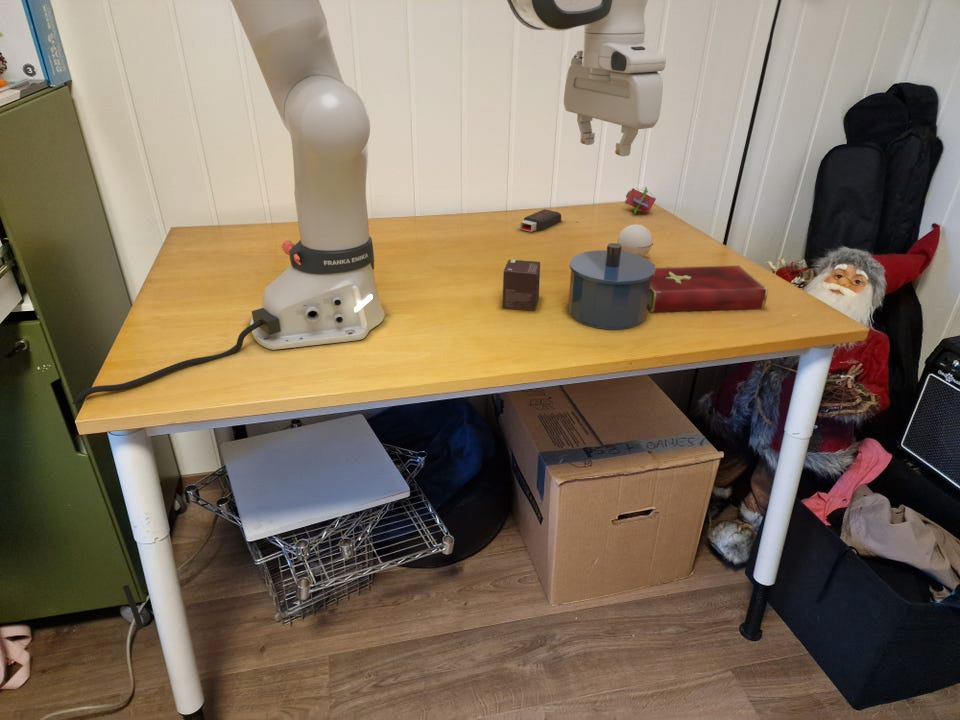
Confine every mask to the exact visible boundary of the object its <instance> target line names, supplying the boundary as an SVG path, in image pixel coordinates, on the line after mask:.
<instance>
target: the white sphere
mask: <svg viewBox="0 0 960 720" xmlns="http://www.w3.org/2000/svg"><path fill="white" fill-rule="evenodd" d="M654 237H656V235H654V236H652V233H651V232H650V230H649V229H648V228H647V227H646V226H645V225H642V224H639V223H638V224H637V223H635V224H634V223H633V224H630V225H627V226H626V227H625V228H623V229H622V230H620V232H619V234H618V238H617V242H616V243H617V244H620V245H622V248H621V252H627V253H631V254H635V255H638V256H641V257H644V256H646V255H648V254H649V252H650V251H651V248H652V246H654V243H653V238H654Z"/></svg>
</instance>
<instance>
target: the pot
mask: <svg viewBox="0 0 960 720" xmlns="http://www.w3.org/2000/svg"><path fill="white" fill-rule="evenodd" d="M651 279H652V278H651ZM651 279H649V280H647V281H644V282H640V283H635V284H605V283H599V282H595V281H591V280H588V279H585V278H582V277H580V276H578V275H576V274H575V273H574V272H573V271H572V270H571V269H570V279H569V291H568V301H567V302H568V304H567V309H568V314H569V316H570V317H571V318H572V319H574V320H575V321H576V322H578V323H579V324H582V325H585V326H587V327H591V328H595V329H600V330H608V331H614V330H615V331H620V330H627V329H632V328H636V327H638V326H640V325H642V323H644V321H645V320H646V316H647V312H648V308H647V306H648V299H649V292H650V286H651Z"/></svg>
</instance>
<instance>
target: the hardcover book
mask: <svg viewBox="0 0 960 720" xmlns="http://www.w3.org/2000/svg"><path fill="white" fill-rule="evenodd" d="M655 268H656V271H655V275H654V276H653V277H652V279H651V286H650V292H649V299H648V306H647V311H649V312H650V313H678V312H681V313H682V312H710V311H742V310H744V311H745V310H763V309H764V308H765V306H766V302H767V299H768V293H769V288H768V287H766V286H765V285H764V284H762V283H761V282H760V281H759V280H757V278H755V277H754V276H753V275H752V274H751V273H749V272H748V271H747V270H746V269H744V268H743V267H742V266H741V265H705V266H704V265H702V266H701V265H700V266H665V267H663V266H661V267H655Z"/></svg>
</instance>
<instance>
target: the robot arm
mask: <svg viewBox="0 0 960 720" xmlns="http://www.w3.org/2000/svg"><path fill="white" fill-rule="evenodd" d="M506 1H507V4H508V6H509V9H510V10H511V12H512V15H514V17H515V18H516V20H518V22H519V23H520V24H521V25H523V26H525V28H526V27H527V28H529V29H531V30H535V31H546V30H548V31H556V32H564V31H568V30H571V29H575V28H577V27H582V26H583V28H584V30H583V44H582V45H583V46H582V49H581V50H577V51H576V53H575V54H574V55H573V57H572V58H571V61H570V66H569V67H568V70H567V73H566V79H565V84H564V85H565V86H564V91H563V92H564V93H563V106H564V109H565V111H566V112H569V113H573V114H576V115H577V117H576V123H577V125H578V129H579V133H580V141H579V142H580V144H582V145H586V146H589V145H594V143H595V137H596V134H595V132H593V129H592V123H591V121H593V119H596V120H599V121H604V122H607V123H610V124H615V125H619V126H621V128H620V133H621V134H622V137H621V139H620V141H619V142H616V143H615V151H614V153H615V155H617V156H620V157H628V156H630V154H631V149H632V144H633V142H634V140H635V139H636V137H637V135H638V133H639V130H645V129H652V128H655V126H656V124H657V123H658V121H659V119H660V116H661V115H660V113H661V110H662V109H661V108H662V103H663V102H662V101H663V91H664V90H663V89H664V82H663V77H662V75H661V74H660V72H663V71H664V70H665V68H666V63H667V58H666V55H665V54H664V53H663V52H661V51H659V50H658V49H656V48H655V47H654V46H653V45H651V44H650V43H649V42H648V41H646V40H645V37H646V36H645V35H646V25H645V12H646V7H647V5H648V1H649V0H506ZM230 2H231V4H232V6H233V9H234V10H235V13H236V15H237V17H238V20H239V22H240V24H241V26H242V29H243V31H244V33H245V35H246V38H247V41H248V42H249V45H250V47H251V49H252V52H253V54H254V57H255V59H256V62H257V65H258V67H259V69H260V72H261V73H262V77H263V79H264V82H265V83H266V86H267V89H268V91H269V94H270V96H271V98H272V101H273V104H274V105H275V107H276V110H277V113H278V115H279V117H280V120H281V121H282V124H283V126H284V127H285V129H286V131H287V132H288V133H289V136H290V139H291V147H292V148H291V149H292V159H293V160H292V161H293V177H294V195H293V196H294V202H295V209H296V216H297V224H298V232H299V233H298V234H299V240H298V241H297V242H296V243H295V244H294V242H292V241H291V240H289V239H288V240H284V241H282V244H281V249H282V251H283V252H284V254H285V255H287V256H289V261H290V265H289V266H288V267H287V268H286V269H285V270H284V271H282V273H280V274H279V275H278V276H277V277H276V278H274V279H273V280H272V281H271V282H270V283H269V284H268V285H267V286H266V287H265V289H264V290H263V293H262V299H261V300H262V301H261V307H260V308H258V309H255V310H252V311H251V318H250V323H249V324H250V325H248V326H247V327H246V328H244V329H243V330H242V331H241V332H240V333H239V335H238V337H237V340H236V343H235V345H234V346H233V347H231V348H229V349H228V350H226V351H223V352H221V353H218V354H214V355H207V356H201V357H194V358H189V359H185V360H183V361H180V362H177V363H174V364H172V365H168V366H166V367H164V368H161V369H158V370H157V371H153V372H151V373H149V374H146V375H144V376H141V377H139V378H135V379H132V380H130V381H126V382H123V383H117V384H106V385H104V384H103V385H96V386H91V387H88V388H86V389H84V390H82V391H81V392H80V393H78V395H77V396H75V398H74V399H73V400H72V405H78V404H81V403H82V402H83V401H84V400H85V399H86V398H87V397H89V396H90V395H93V394H96V393H105V392H106V393H107V392H117V391H124V390H127V389H128V390H129V389H131V388H134V387H137V386H139V385H142V384H145V383H147V382H150V381H152V380H155V379H158V378H160V377H162V376H165V375H167V374H169V373H173V372H175V371H177V370H180V369H183V368H186V367H189V366H194V365H198V364H203V363H204V364H205V363H209V362H213V361H216V360H219V359H223V358H226V357H230V356H232V355H234V354H236V353H237V352H238V351H240V350H241V349H242V347H243V344H244V341H245V338H246V337H247V336H248V335H249V334H250V333H251V336H252V337H253V339H254V340H255V341H256V342H257V344H259V345H260V346H261V347H263V348H266V349H268V350H271V351H272V350H284V349H294V348H302V347H311V346H319V345H320V346H321V345H329V344H335V343H336V344H337V343H345V342H355V341H360V340H361V341H362V340H363V339H365V338H366V337H367V336H368V334H369V333H370V331H371V330H372V329H374V328H376V327H377V326H378V325H380V324H382V323H383V320H385V316H386V315H385V310H384V308H383V305H382V302H381V300H380V296H379V293H378V289H377V288H378V287H377V284H376V279H375V275H374V274H375V273H374V269H375V248H374V243H373V239H372V237H371V236H370V229H369V228H370V227H369V215H368V204H367V203H368V202H367V177H368V176H367V175H368V164H369V163H368V162H369V139H370V134H371V121H370V117H369V112H368V110H367V107H366V105H365V102H364V101H363V99H362V98H361V96H360V95H359V93H357V91H355V90H354V89H353V88H352V87H351V86H349V85H347V84H346V83H345V81H344V79H343V77H342V73H341V71H340V68H339V64H338V61H337V57H336V54H335V50H334V47H333V44H332V41H331V35H330V32H329V27H328V22H327V21H328V20H327V18H326V15H325V13H324V10H323V8H322V4H321V2H320V0H230ZM121 587H122V590H123V593H124V596H125V598H126V600H127V602H128V604H129V608H130V611H131V613H132V616H133V619H134V622H135V625H136V627H137V630H142V629H144V628H145V627H144V624H143V620H142V617H141V614H140V611H139V608H138V606H137V603H136V600H135V598H134V595H133V593H132V590H131V588H130V585H129V584H126V585H123V586H121Z"/></svg>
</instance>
